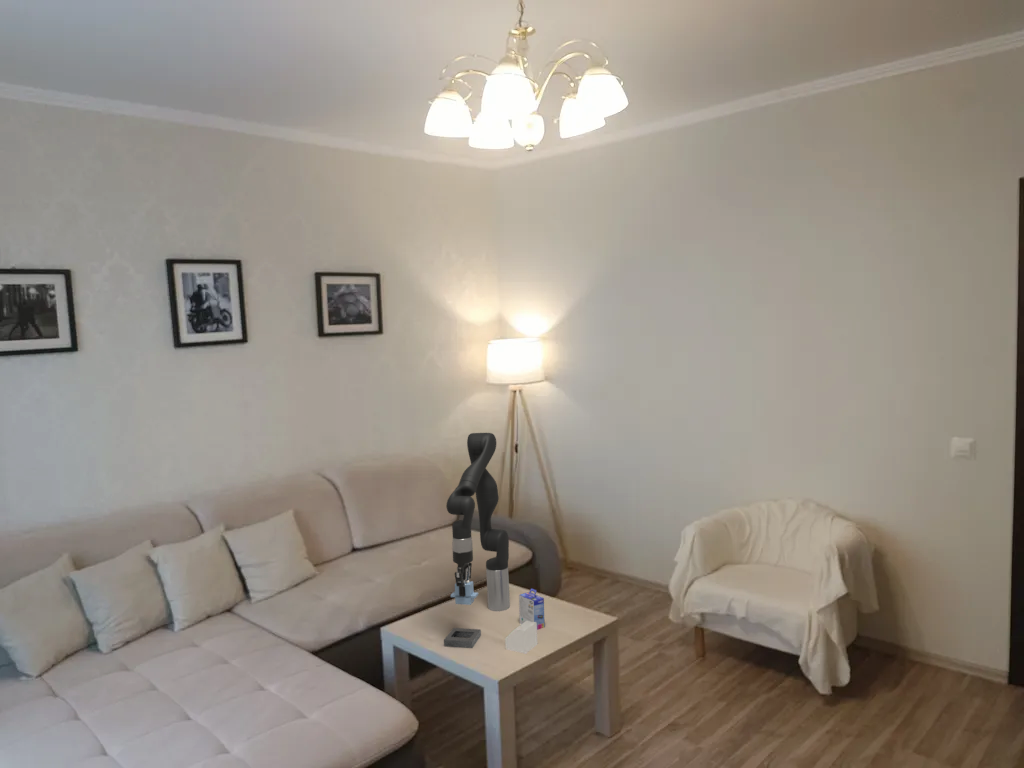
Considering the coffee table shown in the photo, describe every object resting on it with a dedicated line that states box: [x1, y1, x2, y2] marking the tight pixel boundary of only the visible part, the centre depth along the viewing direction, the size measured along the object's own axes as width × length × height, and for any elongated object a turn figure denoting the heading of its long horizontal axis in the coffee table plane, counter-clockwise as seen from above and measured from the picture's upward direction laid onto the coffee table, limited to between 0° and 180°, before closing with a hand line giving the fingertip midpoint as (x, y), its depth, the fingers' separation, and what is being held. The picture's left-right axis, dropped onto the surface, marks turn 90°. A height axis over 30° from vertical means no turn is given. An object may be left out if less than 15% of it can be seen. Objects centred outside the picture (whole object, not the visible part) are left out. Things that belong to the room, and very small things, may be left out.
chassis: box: [443, 627, 482, 649], centre depth 267 cm, size 11×11×2 cm
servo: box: [450, 580, 479, 606], centre depth 267 cm, size 4×10×8 cm, turn 76°
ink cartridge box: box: [518, 587, 546, 631], centre depth 278 cm, size 10×6×14 cm, turn 37°
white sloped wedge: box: [504, 621, 539, 655], centre depth 262 cm, size 8×15×8 cm, turn 148°
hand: (464, 593), depth 267 cm, fingers closed on servo, 4 cm apart
